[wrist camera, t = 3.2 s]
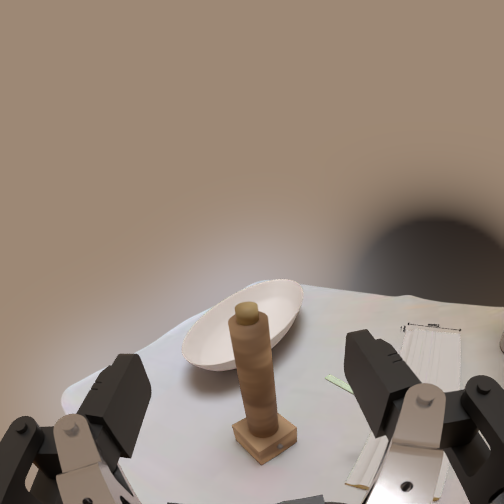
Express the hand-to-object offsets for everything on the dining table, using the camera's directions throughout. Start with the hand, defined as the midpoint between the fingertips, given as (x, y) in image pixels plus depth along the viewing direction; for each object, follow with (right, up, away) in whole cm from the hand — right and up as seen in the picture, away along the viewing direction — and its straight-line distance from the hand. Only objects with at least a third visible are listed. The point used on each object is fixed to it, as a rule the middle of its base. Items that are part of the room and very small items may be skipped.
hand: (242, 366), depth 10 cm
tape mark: (+13, -14, +24) cm, 30 cm away
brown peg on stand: (+2, -17, +17) cm, 24 cm away
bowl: (+1, -12, +38) cm, 40 cm away
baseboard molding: (+22, -15, +18) cm, 33 cm away
